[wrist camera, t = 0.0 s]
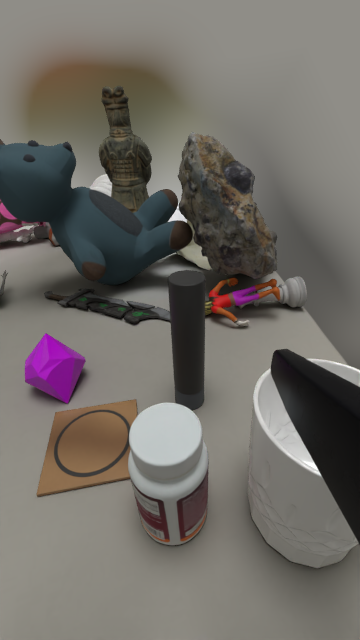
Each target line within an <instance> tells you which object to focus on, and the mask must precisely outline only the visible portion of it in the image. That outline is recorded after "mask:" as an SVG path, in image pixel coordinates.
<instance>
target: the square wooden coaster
mask: <svg viewBox="0 0 360 640" xmlns="http://www.w3.org/2000/svg"><path fill="white" fill-rule="evenodd" d="M136 417H137V403H136V399H135V400H129V401H123V402H117V403H110V404H104V405H98V406H92V407H86V408H79V409H73V410H67V411H61V412H56V413H55V417H54V421H53V426H52V430H51V434H50V439H49V443H48V447H47V451H46V456H45V460H44V464H43V469H42V473H41V477H40V482H39V486H38V490H37V496H38V497H39V496H44V495H49V494H54V493H59V492H64V491H69V490H74V489H79V488H84V487H89V486H94V485H99V484H105V483H110V482H115V481H120V480H125V479H130V475H129V471H128V458H129V453H130V450H131V448H130V444H129V432H130V428H131V426H132V423H133V422H134V420H135V419H136Z"/></svg>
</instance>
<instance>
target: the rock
mask: <svg viewBox="0 0 360 640" xmlns="http://www.w3.org/2000/svg"><path fill="white" fill-rule="evenodd" d="M178 178H179V180H180V181H181V185H182V189H183V193H182V198H181V201H180V203H179V210H180V212H181V214H182V215H184V217H185V218H186V219H187V220H188V221H190V222H191V223H192V225H193V229H194V231H195V233H194V236H193V239H194V242H195V243H196V244H197V245H199V246H201V247H202V250H201V253H202V256H206V257H207V259H208V262H209V265H210V267H211V268H212V269H213V271H214V272H216V273H220V274H226V275H229V274H238V273H242V274H245V275H247V276H250V277H252V278H254V279H257V278H260V277H263V276H265V275H267V274H270V273H272V272H273V271H275V270H277V259H276V249H275V243H276V240H277V235H276V233H275V232H273V231H270V230H269V229H268V227H267V226H266V224H265V223H264V219H263V217H262V216H261V214H260V212H259V210H258V208H257V206H256V205H257V204H256V203H255V202H253V199H252V193H253V183H254V179H255V176H254V174H253V173H252V172H251V170H250V169H248V168H247V167H245V166H244V165H242V164H241V163H240V162H238V161H236V160H235V159H234V158H233V156H232V155H231V153H230V152H229V151H228V150H227V149H226V148H225V147H224V145H222V144H221V143H220V142H219V141H218V140H217V139H215V138H214V137H211V136H208V135H206V136H203V135H199V134H196V133H194V132H192V133H191V134H190V135H189V138H188V141H187V142H186V144H185V146H184V149H183V151H182V162H181V165H180V170H179V175H178Z"/></svg>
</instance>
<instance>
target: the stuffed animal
mask: <svg viewBox="0 0 360 640" xmlns="http://www.w3.org/2000/svg"><path fill="white" fill-rule="evenodd" d="M75 166H76V159H75V156H74V153H73V151H72V148H71V145H70V144H69V143H68V142H65V143H63V144H58V145H55V146H44V145H39V144H38V143H36V141H33V140H31V141H29V142H28V144H25V143H14V144H9V145H5V144H4V143H3V142H2V141H1V139H0V200H1V202H2V203H3V205H4V206H5V208H6V209H7V210H8V211H9V212H10V214H11V215H13V216H14V217H15V218H17V219H19V220H21V221H25V222H48V223H49V224H50V227H51V230H52V233H53V235H54V237H55V239H56V241H57V242H58V244H59V245H60V246H61V248H62V249H63V251H64V252H65V254H66V255H67V256H68V257H69V258H70V259H71V260H72V262H73V263H74V265H75V267H76V269H77V270H78V272H79V273H80V274H81V275H83V276H84V277H85V278H87V279H89V280H92V281H98V282H99V283H102V284H107V285H118V284H121V283H124V282H127V281H128V280H130V279H132V278H133V277H134V276H136V275H137V274H139V273H140V272H141V271H143V270H144V269H145V268H147V267H148V266H150V265H151V264H153V263H154V262H156V261H158V260H160V259H162V258H164V257H166V256H168V255H171V254H173V253H175V252H177V251H179V250H181V249H183V248H185V247H186V246H187V245H188V244H189V243H190V242H191V241H192V238H193V231H192V228H191V227H190V226H189V224H187V223H186V222H184V221H171V222H168V220H169V219H170V218H171V216H172V215H173V214H174V212H175V210H176V209H177V206H178V199H177V196H176V195H175V193H174V192H173V191H171V190H169V189H164V190H160V191H158V192H156V193H155V194H153V195H151V196H150V197H149V198H148V199H147V200H146V201H145V202H144V203H143V204H142V205H141V207H140V208H139V210H138V211H137V212H134V213H132V212H131V211H130V210H129V209H127V208H126V207H125V206H124V205H122V204H121V203H120V202H118V201H117V200H115V199H114V198H112V197H110V196H108V195H106V194H104V193H102V192H99V191H96V190H92V189H90V188H86V187H77V188H74V189H72V188H71V178H72V175H73V172H74V169H75Z"/></svg>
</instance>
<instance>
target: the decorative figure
mask: <svg viewBox="0 0 360 640" xmlns="http://www.w3.org/2000/svg"><path fill="white" fill-rule="evenodd" d="M34 227H36V226H33V227H32V228H30V230H27V229H23V230H20V231H19V232H14V231H9V232H5V233H2V234H0V242H5V241H8V240H9V239H10V240H13V241H18V242H20V241H21V240H22V241H23V242H24V243H27V242H28V241H29V240H31V238H32V236H31V234H33V231H34Z"/></svg>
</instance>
